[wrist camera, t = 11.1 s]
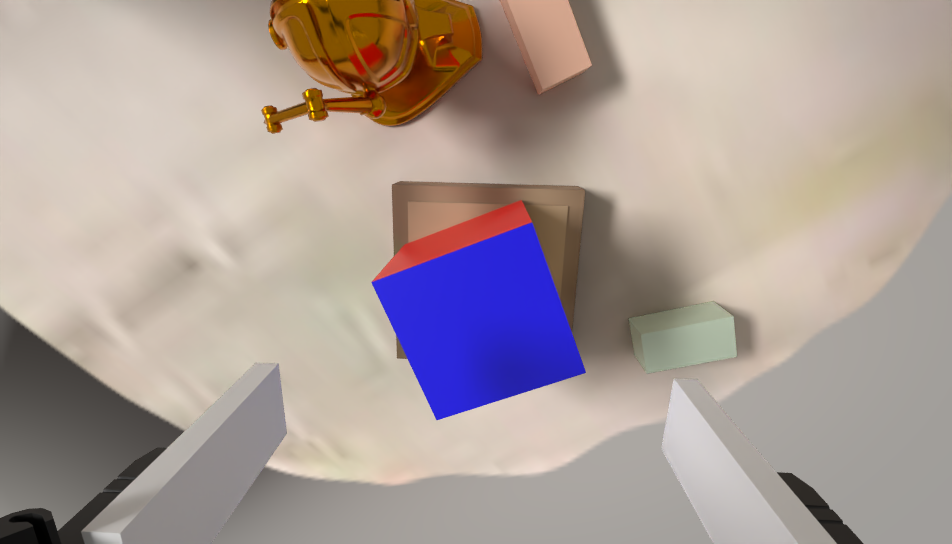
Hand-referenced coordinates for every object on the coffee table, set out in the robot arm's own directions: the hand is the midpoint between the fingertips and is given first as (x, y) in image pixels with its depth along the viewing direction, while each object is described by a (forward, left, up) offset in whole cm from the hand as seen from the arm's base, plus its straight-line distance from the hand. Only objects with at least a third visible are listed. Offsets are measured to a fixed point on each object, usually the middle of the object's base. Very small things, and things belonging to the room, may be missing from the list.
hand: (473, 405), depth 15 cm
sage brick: (+14, -4, -18) cm, 23 cm away
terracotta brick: (+3, +15, -18) cm, 23 cm away
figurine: (-6, +14, -18) cm, 23 cm away
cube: (0, 0, -15) cm, 15 cm away
